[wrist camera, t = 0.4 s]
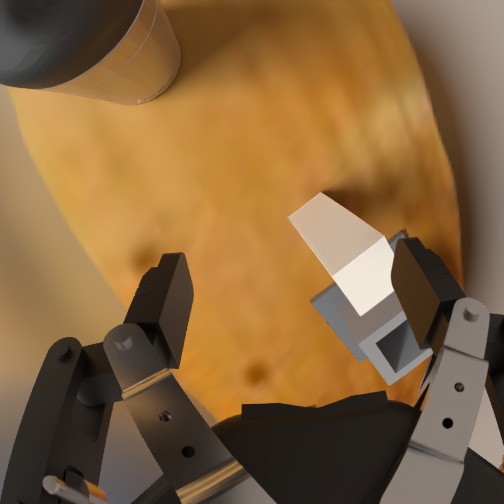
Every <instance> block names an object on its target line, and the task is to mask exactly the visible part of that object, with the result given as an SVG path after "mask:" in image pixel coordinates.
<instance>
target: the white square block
mask: <svg viewBox="0 0 504 504" xmlns="http://www.w3.org/2000/svg"><path fill="white" fill-rule="evenodd" d="M287 218H288V219H289V220H290V221H291V223H292V224H293V225H294V227H295V228H296V229H297V231H298V232H299V233H300V235H301V236H302V237H303V239H304V240H305V241H306V243H307V244H308V245H309V247H310V248H311V250H312V251H313V252H314V254H315V255H316V256H317V258H318V259H319V260H320V262H321V263H322V264H323V266H324V267H325V268H326V270H327V271H328V272H329V274H330V275H331V276H332V278H333V279H334V281H335V282H336V283H337V285H338V286H339V287H340V289H341V290H342V292H343V293H344V294H345V296H346V297H347V298H348V300H349V301H350V303H351V304H352V305H353V307H354V308H355V310H356V311H357V313H358V314H359V315H360V317H361V316H362V315H363V314H365V313H366V312H367V311H369V310H370V309H371V308H373V307H374V306H375V305H377V304H378V303H379V302H380V301H382V300H383V299H384V298H386V297H387V296H388V295H389V294H391V293H392V292H393V291H394V289H393V287H392V283H391V268H392V263H393V258H394V253H393V251H392V249H391V247H390V246H389V244H388V242H387V240H386V238H385V236H384V235H382V234H381V233H380V232H378V231H377V230H375V229H374V228H373V227H371V226H370V225H368V224H367V223H366V222H364V221H363V220H361V219H360V218H359V217H357V216H356V215H354V214H353V213H351V212H350V211H348V210H347V209H345V208H344V207H343V206H341V205H340V204H338V203H337V202H335V201H334V200H332V199H331V198H329V197H328V196H326V195H325V194H323V193H322V192H320V193H319V194H317V195H316V196H315V197H313V198H312V199H311V200H309V201H308V202H307V203H306V204H304V205H303V206H302V207H300V208H299V209H298V210H296V211H295V212H294V213H292V214H291V215H290V216H288V217H287Z"/></svg>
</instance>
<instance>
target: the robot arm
mask: <svg viewBox="0 0 504 504" xmlns="http://www.w3.org/2000/svg"><path fill="white" fill-rule="evenodd" d="M180 62H181V50H180V46H179V43H178V40H177V38H176V36H175V33H174V31H173V28H172V26H171V24H170V22H169V19H168V17H167V15H166V13H165V10H164V8H163V6H162V4H161V1H160V0H0V84H3V85H6V86H11V87H18V88H27V89H35V90H43V91H50V92H57V93H65V94H71V95H77V96H82V97H88V98H93V99H98V100H104V101H108V102H113V103H118V104H123V105H137V104H141V103H145V102H148V101H150V100H152V99H154V98H156V97H157V96H159V95H160V94H162V93H163V92H164V91H165V90H166V89H167V88H168V87H169V86H170V85H171V83H172V82H173V80H174V79H175V77H176V75H177V73H178V70H179V67H180ZM391 283H392V287H393V289H394V291H395V293H396V295H397V297H398V300H399V302H400V304H401V306H402V308H403V311H404V313H405V315H406V318H407V320H408V322H409V324H410V327H411V329H412V331H413V334H414V336H415V339H416V341H417V344H418V346H419V348H420V350H424V349H429V348H431V349H432V351H433V354H432V356H431V358H430V360H429V363H428V366H427V368H426V371H425V374H424V376H423V379H422V381H421V384H420V386H419V389H418V391H417V394H416V396H415V398H414V400H413V402H412V404H411V406H410V405H408V404H405V403H402V402H398V401H392V400H388V399H387V395H386V391H379V392H373V393H367V394H361V395H354V396H350V397H348V398H345V399H342V400H339V401H337V402H334V403H331V404H328V405H325V406H323V407H319V408H309V407H302V406H295V405H288V404H282V403H267V404H242V414H239V415H235V416H232V417H230V418H227V419H225V420H223V421H221V422H219V423H217V424H216V425H214V426H212V427H211V428H210V427H209V425H208V424H207V423H206V421H205V420H204V419H203V417H202V416H201V415H200V413H199V412H198V411H197V409H196V408H195V406H194V405H193V404H192V402H191V401H190V399H189V398H188V397H187V395H186V394H185V392H184V391H183V389H182V388H181V387H180V385H179V384H178V382H177V381H176V379H175V378H174V376H173V375H172V373H171V372H170V371H169V368H170V369H179V365H180V360H181V355H182V350H183V346H184V341H185V336H186V331H187V326H188V322H189V317H190V312H191V308H192V303H193V297H194V291H193V284H192V280H191V276H190V273H189V269H188V265H187V261H186V257H185V254H184V253H183V252H179V253H165V254H163V255H162V257H161V260H160V262H159V265H158V267H153V268H150V269H149V271H148V272H147V273H146V274H145V275H144V276H143V277H142V279H141V281H140V284H139V286H138V287H139V288H137V291H136V293H135V296H134V298H133V300H132V303H131V305H130V308H129V310H128V312H127V315H126V318H125V320H124V322H123V324H121V325H119V326H116V327H115V328H113V329H112V330H110V331H109V332H108V334H107V335H106V336H105V338H104V342H101V343H97V344H92V345H88V346H84V347H82V345H81V344H80V342H79V341H78V340H77V339H76V338H73V337H66V338H62V339H60V340H58V341H57V342H55V343H54V344H53V345H52V346H51V347H50V349H49V351H48V353H47V355H46V357H45V360H44V362H43V364H42V367H41V369H40V372H39V374H38V377H37V379H36V382H35V384H34V387H33V389H32V392H31V395H30V397H29V400H28V403H27V406H26V409H25V412H24V415H23V418H22V420H21V423H20V427H19V430H18V433H17V436H16V439H15V443H14V446H13V450H12V453H11V457H10V461H9V464H8V469H7V473H6V477H5V481H4V485H3V490H2V495H1V500H0V504H108V502H107V498H106V495H105V494H104V492H103V491H102V490H101V489H100V488H99V487H98V483H99V477H100V471H101V465H102V459H103V453H104V447H105V443H106V437H107V432H108V427H109V423H110V418H111V413H112V409H113V404H114V402H117V401H122V400H124V402H125V404H126V406H127V408H128V410H129V412H130V414H131V416H132V418H133V420H134V422H135V424H136V425H137V428H138V429H139V431H140V433H141V435H142V437H143V438H144V440H145V442H146V444H147V446H148V448H149V449H150V451H151V453H152V455H153V456H154V458H155V460H156V461H157V463H158V464H159V466H160V468H161V470H162V471H163V473H164V474H163V475H161V476H160V477H159V478H158V479H157V480H156V481H155V482H154V483H153V484H152V485H151V486H150V487H149V488H148V489H146V490H145V491H144V492H143V493H142V494H141V495H140V496H139V497H138V498H137V499H135V500H134V501H133V502H132V503H131V504H504V455H503V460H502V464H501V466H500V467H499V469H497V468H496V467H495V466H493V465H492V464H491V463H489V462H488V461H487V460H485V459H484V458H483V457H481V456H480V455H478V454H477V453H476V452H474V451H473V450H472V449H470V448H469V447H468V445H469V442H470V438H471V435H472V432H473V429H474V426H475V422H476V419H477V415H478V411H479V407H480V403H481V399H482V395H483V390H484V386H485V388H486V391H487V394H488V396H489V399H490V402H491V405H492V408H493V411H494V414H495V417H496V421H497V424H498V427H499V431H500V434H501V438H502V441H503V444H504V315H499V314H491V313H489V312H488V310H487V309H486V307H485V306H484V305H483V304H482V303H481V302H479V301H477V300H475V299H472V298H467V297H466V296H465V294H464V293H463V291H462V289H461V288H460V286H459V285H458V283H457V282H456V280H455V279H454V277H453V276H452V274H450V271H449V270H448V268H447V267H445V264H444V263H443V261H442V260H441V258H440V257H439V256H438V255H436V254H435V253H434V252H432V251H431V250H430V249H426V248H425V247H424V246H423V244H422V243H421V241H420V240H419V239H418V238H417V237H412V238H399V239H398V240H397V243H396V248H395V253H394V258H393V263H392V268H391Z"/></svg>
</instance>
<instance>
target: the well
mask: <svg viewBox="0 0 504 504" xmlns="http://www.w3.org/2000/svg"><path fill="white" fill-rule="evenodd" d="M399 238H405V236H404V234H403V233H402V232H401V231H400V232H398V233H397V234H396V235H395V236H393V237H392V238H391V239H390V240H389V241H387V242H388V244H389V246H390V247H391V249H392V251H393V253H395V248H396V243H397V240H398V239H399ZM310 301H311V303H312V305H313V306H314V307H315V308H316V309H317V311H318V312H319V313H320V314H321V316H322V317H323V318H324V319H325V321H326V322H327V323H328V324H329V325H330V327H331V328H332V329H333V330H334V332H335V333H336V334H337V335H338V337H339V338H340V339H341V340H342V342H343V343H344V344H345V345H346V346H347V348H348V349H349V350H350V351H351V353H352V354H353V355H354V356H355V358H356V359H357V360H358V361H359V363H360V362H362V361H363V360H364V359H366V358H367V357H368V358H369V359H370V361H371V362H372V363H373V365H374V366H375V367H376V369H377V370H378V372H379V373H380V374H381V376H382V377H383V378H384V380H385V381H386V382H387V384H388V385H389V386H390V385H391V384H393V383H394V382H396V381H397V380H398V379H400V378H401V377H403V376H404V375H405V374H407V373H408V372H409V371H411V370H412V369H413V368H415V367H416V366H417V365H419V364H420V363H421V362H422V361H424V360H425V359H426V358H427V357H429V356H430V355H431V354H432V353H433V351H432V349H431V348H429V349H424V350H420V348H419V346H418V344H417V341H416V339H415V336H414V334H413V331H412V329H411V327H410V324H409V322H408V320H407V318H406V315H405V313H404V311H403V308H402V306H401V304H400V302H399V300H398V297H397V295H396V293H395V291H393V292H392V293H391V294H389V295H388V296H387V297H386V298H384V299H383V300H382V301H380V302H379V303H378V304H377V305H375V306H374V307H373V308H371V309H370V310H369V311H367V312H366V313H365V314H363V315H362V316H361V317H360V315H359V314H358V313H357V311H356V310H355V308H354V307H353V305H352V304H351V303H350V301H349V300H348V298H347V297H346V296H345V294H344V293H343V292H342V290H341V289H340V287H339V286H338V285H337V283H336V282H334V283H333V284H332V285H330V286H329V287H328V288H326V289H325V290H324V291H322V292H321V293H319V294H318V295H317V296H315V297H314V298H313V299H311V300H310Z"/></svg>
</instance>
